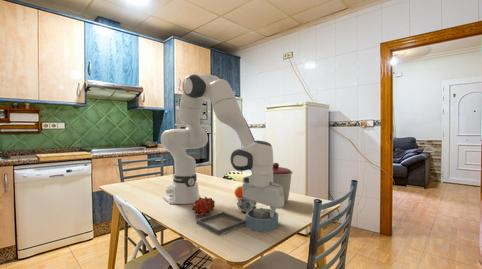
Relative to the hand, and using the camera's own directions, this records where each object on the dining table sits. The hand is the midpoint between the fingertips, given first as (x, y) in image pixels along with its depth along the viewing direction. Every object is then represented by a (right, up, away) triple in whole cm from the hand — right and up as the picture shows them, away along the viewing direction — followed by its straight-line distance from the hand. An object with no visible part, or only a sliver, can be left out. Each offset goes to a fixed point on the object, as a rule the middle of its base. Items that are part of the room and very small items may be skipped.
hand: (261, 213), depth 100 cm
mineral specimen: (-6, -4, +18) cm, 19 cm away
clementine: (-9, -4, +36) cm, 37 cm away
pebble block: (0, -4, 0) cm, 4 cm away
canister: (+10, -4, +30) cm, 32 cm away
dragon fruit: (-26, -4, +11) cm, 29 cm away
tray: (-17, -5, 0) cm, 18 cm away
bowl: (0, -5, 0) cm, 5 cm away
